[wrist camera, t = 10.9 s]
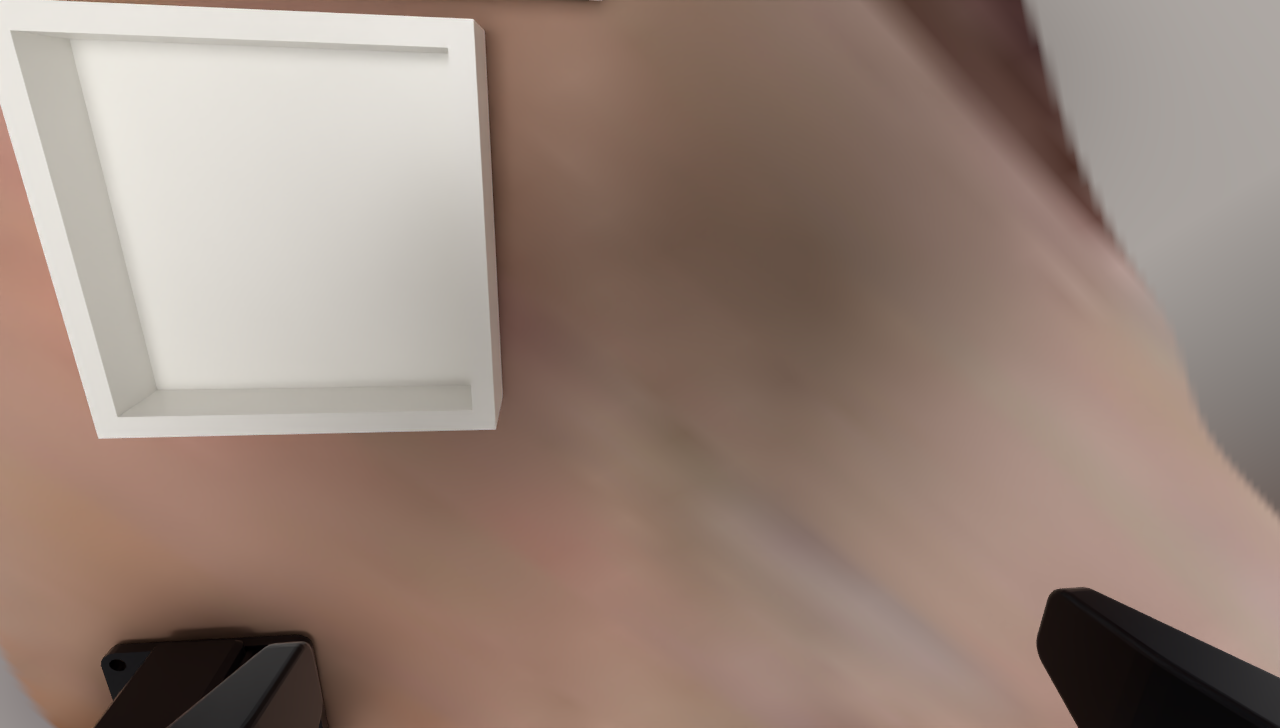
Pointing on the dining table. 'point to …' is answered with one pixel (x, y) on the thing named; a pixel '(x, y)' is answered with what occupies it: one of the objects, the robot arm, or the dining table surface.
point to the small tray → (261, 214)
